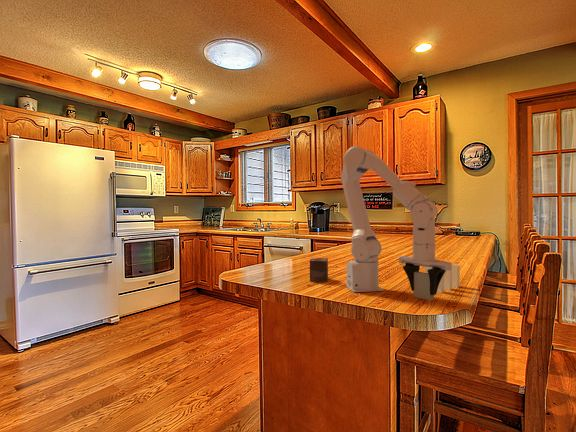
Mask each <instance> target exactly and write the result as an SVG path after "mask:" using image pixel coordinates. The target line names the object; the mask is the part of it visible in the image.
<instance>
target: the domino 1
mask: <svg viewBox="0 0 576 432" xmlns="http://www.w3.org/2000/svg"><path fill="white" fill-rule="evenodd" d="M413 297H414V298H417V299H418V298H419V299H422V300H426V301H434V300H435V295H430V280H429V274H428V273H425V272H421V271H419V272H414V291H413Z"/></svg>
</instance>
